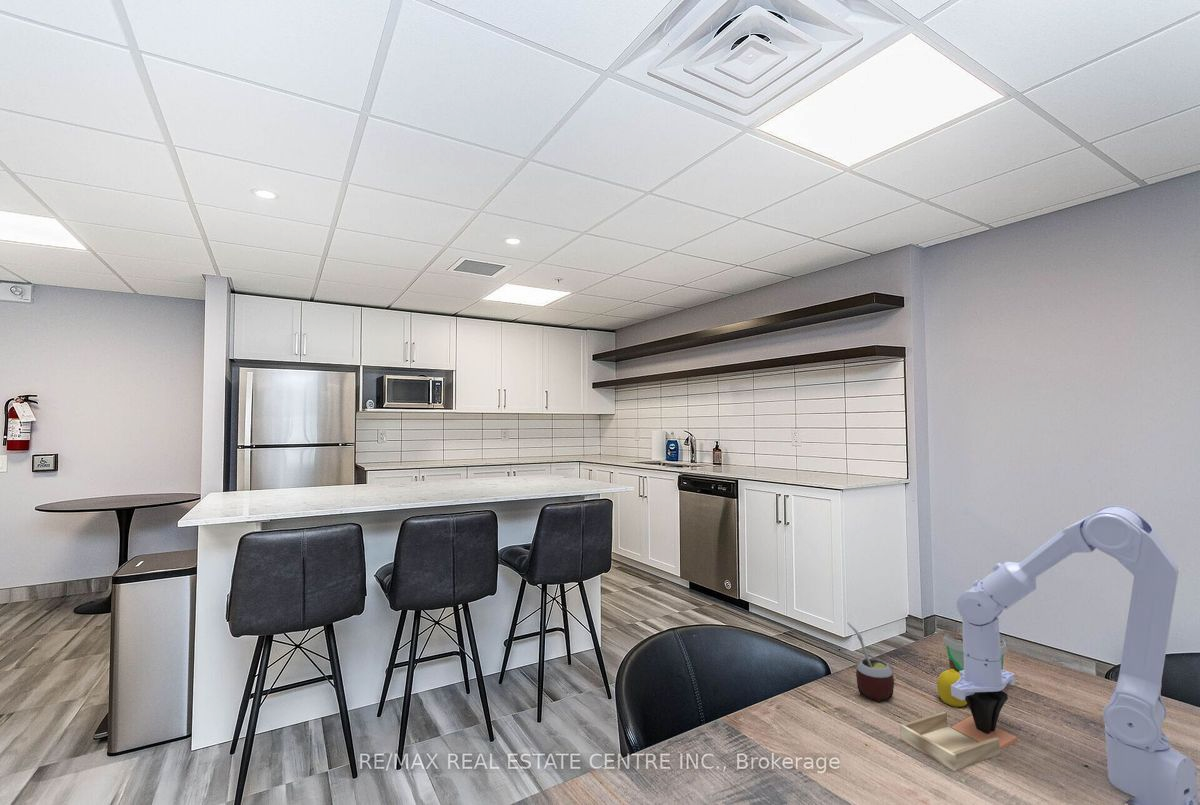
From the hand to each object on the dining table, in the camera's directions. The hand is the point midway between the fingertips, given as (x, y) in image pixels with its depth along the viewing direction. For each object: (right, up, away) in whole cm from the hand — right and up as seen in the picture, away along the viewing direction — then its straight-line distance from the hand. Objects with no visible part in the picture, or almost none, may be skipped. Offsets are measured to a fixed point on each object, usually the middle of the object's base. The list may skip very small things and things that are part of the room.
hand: (985, 730), depth 100 cm
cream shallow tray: (-9, -2, -4) cm, 10 cm away
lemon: (+1, -3, +11) cm, 11 cm away
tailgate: (-4, 0, -2) cm, 4 cm away
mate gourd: (-13, -3, +15) cm, 20 cm away
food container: (+13, -3, +20) cm, 24 cm away
